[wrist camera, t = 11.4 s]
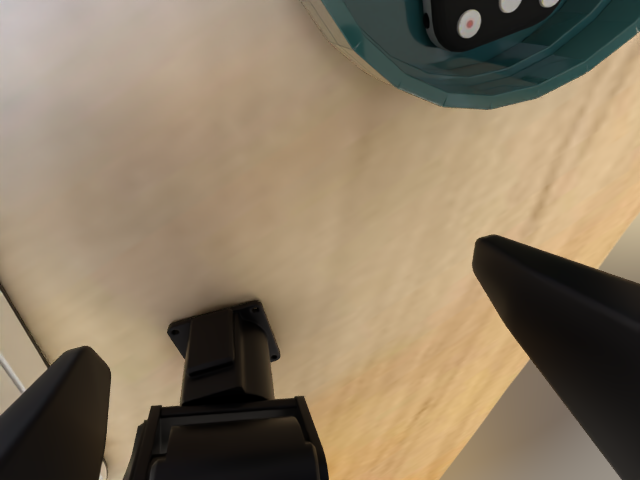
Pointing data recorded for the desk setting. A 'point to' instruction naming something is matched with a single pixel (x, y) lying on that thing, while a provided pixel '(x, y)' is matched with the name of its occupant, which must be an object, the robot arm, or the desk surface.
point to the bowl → (475, 49)
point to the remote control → (480, 20)
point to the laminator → (19, 359)
